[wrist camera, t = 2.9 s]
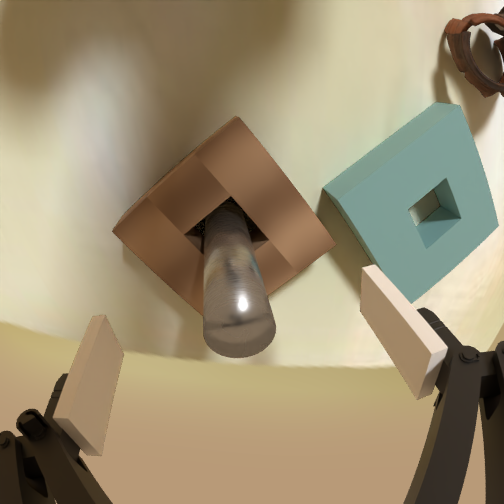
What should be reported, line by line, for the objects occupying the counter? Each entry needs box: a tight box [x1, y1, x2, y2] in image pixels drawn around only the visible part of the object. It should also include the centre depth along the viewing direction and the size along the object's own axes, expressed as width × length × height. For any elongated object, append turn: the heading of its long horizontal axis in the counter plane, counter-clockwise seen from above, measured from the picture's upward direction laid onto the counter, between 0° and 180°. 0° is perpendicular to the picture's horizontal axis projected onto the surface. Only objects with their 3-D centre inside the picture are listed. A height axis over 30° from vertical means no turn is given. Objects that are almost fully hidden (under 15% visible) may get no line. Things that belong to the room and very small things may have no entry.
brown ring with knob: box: [445, 7, 504, 98], centre depth 19 cm, size 12×10×8 cm
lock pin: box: [203, 202, 276, 358], centre depth 20 cm, size 3×3×14 cm
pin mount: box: [112, 116, 336, 316], centre depth 25 cm, size 12×12×4 cm
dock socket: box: [323, 102, 499, 304], centre depth 26 cm, size 14×14×4 cm
